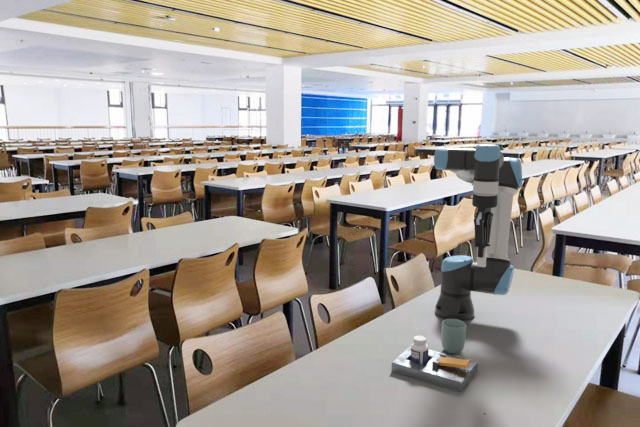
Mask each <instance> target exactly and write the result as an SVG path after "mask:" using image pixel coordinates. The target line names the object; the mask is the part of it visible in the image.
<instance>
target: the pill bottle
mask: <svg viewBox="0 0 640 427" xmlns="http://www.w3.org/2000/svg"><path fill="white" fill-rule="evenodd" d="M412 342H413V343H411V345H410V346H411V361H414V362H417V363H421V364H424V365H426V364H427V363H428V349H429V345H428V344H427V337H426V336H423V335H415V336H413V341H412Z"/></svg>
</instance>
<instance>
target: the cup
mask: <svg viewBox="0 0 640 427" xmlns="http://www.w3.org/2000/svg"><path fill="white" fill-rule="evenodd" d="M440 334H441V338H440V339H441V345H442V348H443V351H445V352H446V353H447V354H450V355H453V354H454V355H455V354H460V353H461V352H462V351H463V350H464V348H465V344H466V338H467V323H466V322H464V320H458V319H446V318H445V319H444V320H442V322H441V330H440Z"/></svg>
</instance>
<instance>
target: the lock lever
mask: <svg viewBox="0 0 640 427" xmlns="http://www.w3.org/2000/svg"><path fill="white" fill-rule="evenodd" d="M466 359H467V358H465V359H457V358H448V357H443V356H440V357H439V358H438V359H437V360H436V361H439V365H441V366H450V367H458V368H467V367H468V365H469V364H470V360H471V359H469V360H466Z"/></svg>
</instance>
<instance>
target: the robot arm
mask: <svg viewBox="0 0 640 427" xmlns="http://www.w3.org/2000/svg"><path fill="white" fill-rule="evenodd" d="M433 165H434V168H435V170H440V171H450V172H452V173H453V174H455V175H456V177H457V178H458V179H460V180H461V181H463V182H465V183H469V184H471V186H472V187H473V188H472V192H473V194H472V198H471V202H472V203H471V205H472V206H473V207H475V208H477V210H476V211H477V212H476V213H475V218H473V224H474V248H475V247H476V261H474V259H473V257H472V256H470V255H465V254H464V255H457V254H456V255H450V256H448V257H445V258H444V259H442V262H441V268H440V271H441V274H440V275H441V276H440V293H439V296H438V299H437V301H436V304H435V309H434V312H435V314H436V315H437V316H438V317H441V318H442V319H445V320H446V319H458V320H461V321H466V320H467V321H468V320H470V318H471V319H472V318H474V316H475V307H474V304H473V300H472V297H471V296H472V295H471V294H472V292H474V293H476V292H477V293H481V294H482V293H483V294H489V295H495V296H496V295H497V296H507V294H508V293H509V291H510V288H511V284H512V282H513V277H514V273H515V267H514V265H512V263H511V259H510V258H509V257H508V252H509V251H508V250H509V241H510V240H509V238H510V230H511V223H512V222H511V219H512V209H513V202H514V201H513V200H514V196H515V195H516V194H518V192H519V189H521V188H523V170H522V161H521V160H520V159H519V158H518V157H509V156H507V157H504V154H503V152H502V151H501V146H500V145H498V144H492V143H490V144H487V143H486V144H485V143H484V144H483V143H482V144H477V145H476V146H475V148H457V147H455V148H454V147H453V148H452V147H438V148H436V149H435V152H434V156H433Z"/></svg>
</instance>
